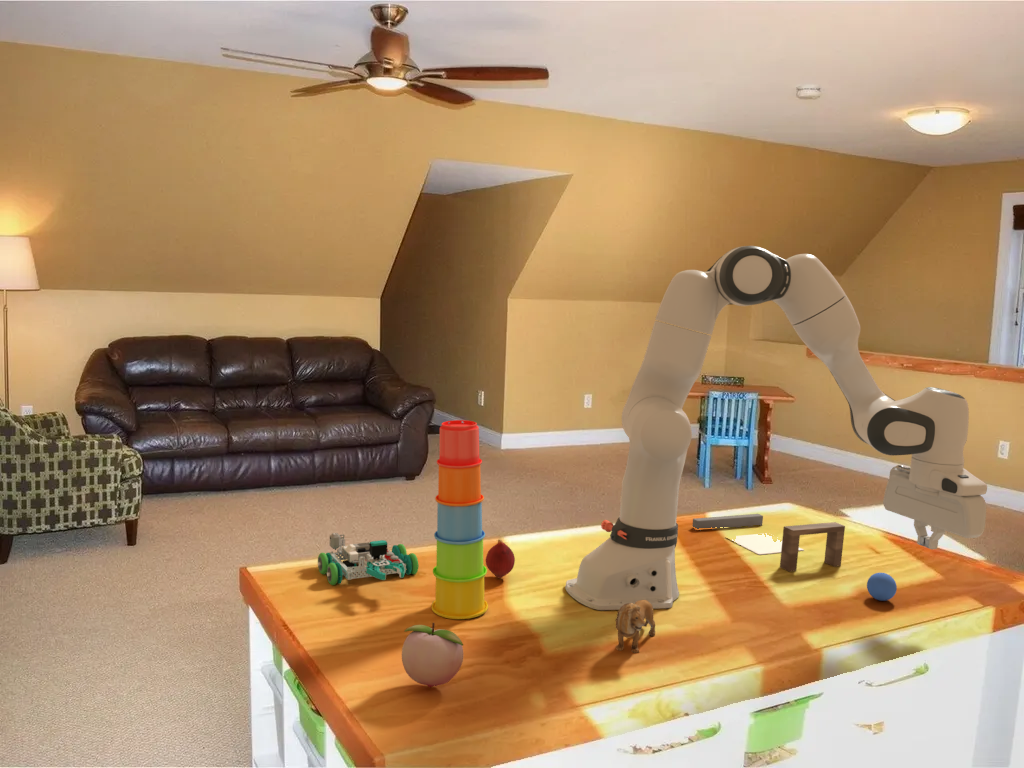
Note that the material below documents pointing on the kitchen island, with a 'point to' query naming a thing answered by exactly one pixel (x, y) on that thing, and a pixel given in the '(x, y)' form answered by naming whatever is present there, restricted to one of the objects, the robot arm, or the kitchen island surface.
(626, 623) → the lion figurine
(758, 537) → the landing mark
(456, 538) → the stacking cups
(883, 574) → the ball
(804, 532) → the bridge
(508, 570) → the onion
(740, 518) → the wall
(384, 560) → the robot kit
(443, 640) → the decorative fruit
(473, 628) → the kitchen island surface
